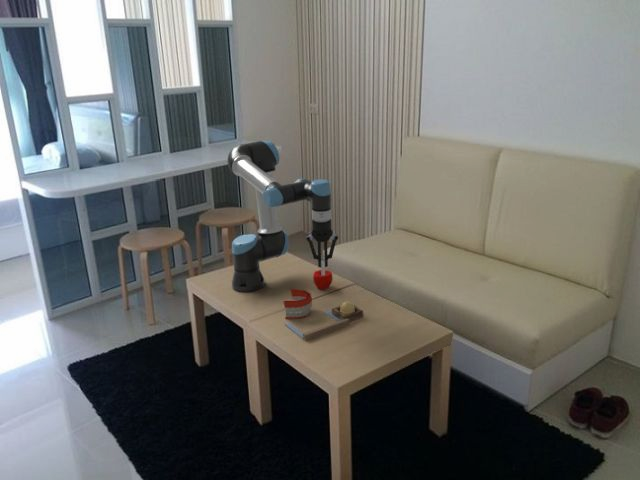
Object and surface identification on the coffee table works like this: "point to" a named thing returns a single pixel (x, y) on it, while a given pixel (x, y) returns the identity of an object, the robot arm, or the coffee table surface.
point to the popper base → (351, 316)
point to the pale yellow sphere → (347, 307)
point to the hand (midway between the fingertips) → (323, 273)
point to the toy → (298, 304)
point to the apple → (322, 279)
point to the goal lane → (321, 330)
